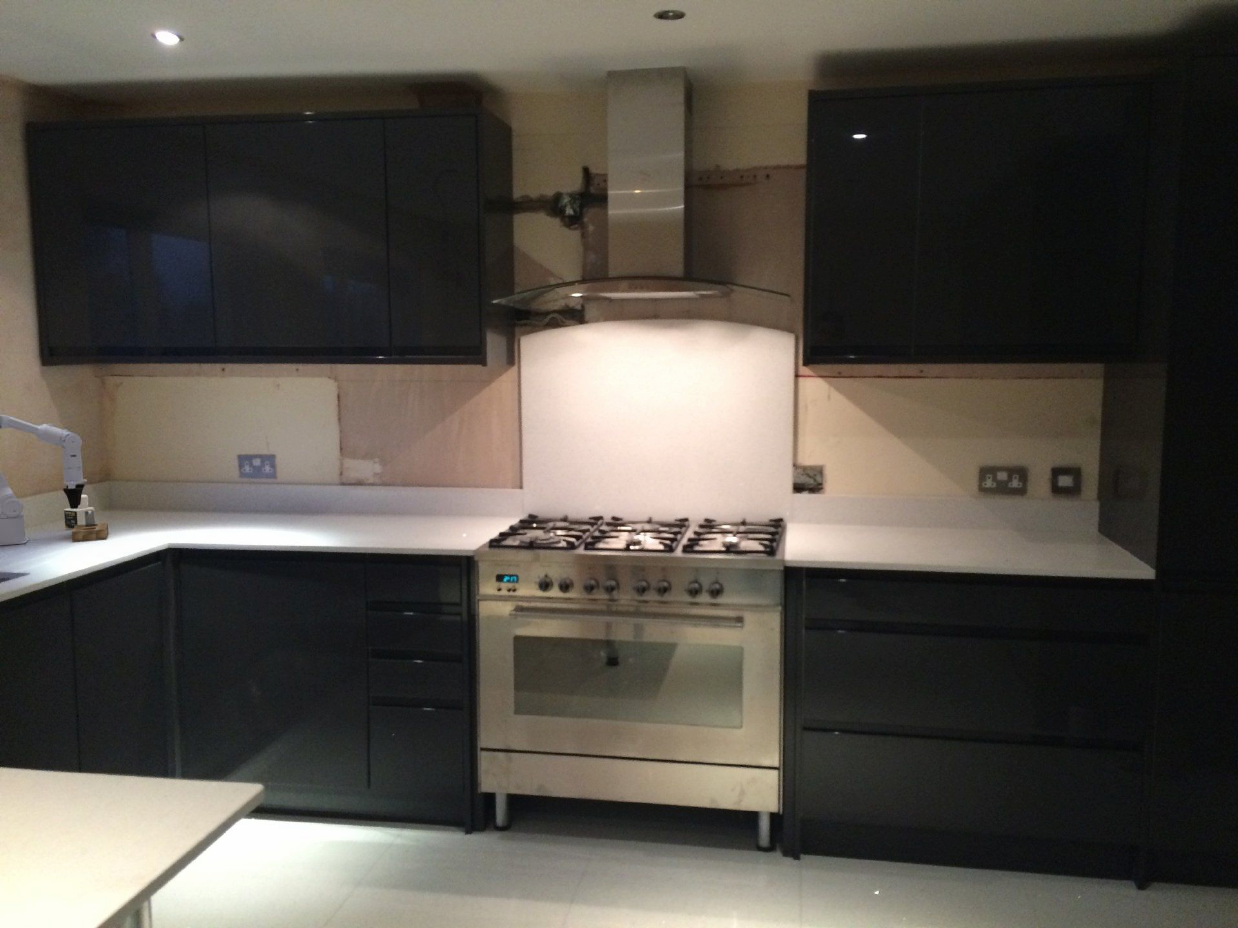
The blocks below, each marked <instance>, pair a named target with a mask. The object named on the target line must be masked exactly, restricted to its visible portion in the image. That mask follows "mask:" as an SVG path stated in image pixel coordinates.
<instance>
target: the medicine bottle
mask: <svg viewBox="0 0 1238 928" xmlns="http://www.w3.org/2000/svg"><path fill="white" fill-rule="evenodd" d="M68 505H69V504H68ZM91 510H93V511H94V515H95V516H96V514H95V511H96V510H95V507H92V506H91V507H90V506H89V496H88V495H87V494H85V493H84V494H83V493H82V496H81V503H80V505H78V508H76V509H71V508H70V505H69V507H68V508H64V509H63V512H64V513H63V515H64V527H65V529H66V530H73V528H74V527H75V525H84V524H85V514H84V511H91ZM95 524H97V522H95Z"/></svg>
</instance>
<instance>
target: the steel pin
mask: <svg viewBox="0 0 1238 928" xmlns="http://www.w3.org/2000/svg"><path fill="white" fill-rule="evenodd" d="M84 514H85V525H86V527H90V526H95V523H96V514H95V515H94V511H93V510H91V511H84Z"/></svg>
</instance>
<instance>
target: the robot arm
mask: <svg viewBox="0 0 1238 928" xmlns="http://www.w3.org/2000/svg"><path fill="white" fill-rule="evenodd" d="M9 428H10V429H15V430H16V431H17V430H18V431H22V432H25V433H28V434H32V435H34V436H35V437H36V439H37V440H38V441H41V442H44V443H46V444H50V445H53V446H57V447H59V446H60V447H62V454H61V456H62V468H63V469H62V470H63V484H64V485H66V487H65V488H62V492H63V493H64V494H65V496H66V498H67V502H68V505H70V507H69V508H71V509H76V508H78V505H80V503H81V496H82V494H83V491H84V488H85V487H86V486H85V485H86V484H85V483H87V482H88V479H84V473H83V464H82V463H83V461H82V452H81V451H82V449H81V447H82V445H83V440H82V438H81V436H80V434H77V433H75V432H71V431H69V430H68V429H66V428H64V429H61V428H58V427H56V426H54V424H52V423H47V424H45V423H42V424H40V425H36V424H33V423H30V422H27V421H25V420H22V419H19V418H16V417H12V416H10V415H5V414H0V429H1V430H2V429H3V430H4V429H9ZM23 510H24V503H23V501H21V500H20V499H19V498H17V496H16V495H15V494H14V492H13V490H12V489H11V487H10V485H9V483H8V482H7V479H6V478H5V476H4V475H3V472H2V470H1V469H0V546H8V545H21V544H27V542H28V541H29V540H30V539H29V538H28V537H26V527H25V515H24V513H22V512H23Z"/></svg>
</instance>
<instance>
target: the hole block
mask: <svg viewBox="0 0 1238 928" xmlns="http://www.w3.org/2000/svg"><path fill="white" fill-rule="evenodd" d="M108 535H109V522H98V523H96V524H95V526H90V527H86V525H85V524H84V525H75V527H74V528H73V529H71V540H72V541H71V543H79V542H80V541H81V542H90V541H103V540H105V541H106V540H107V538H108Z"/></svg>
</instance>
